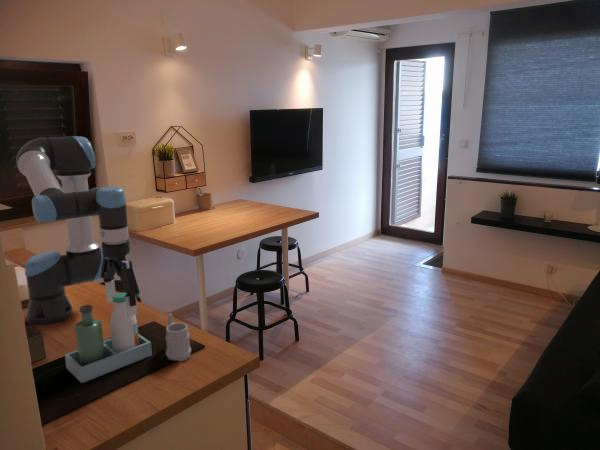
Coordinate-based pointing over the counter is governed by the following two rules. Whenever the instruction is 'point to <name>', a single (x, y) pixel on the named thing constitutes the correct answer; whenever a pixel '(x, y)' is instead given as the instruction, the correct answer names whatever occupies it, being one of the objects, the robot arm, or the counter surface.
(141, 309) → the counter surface
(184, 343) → the mug
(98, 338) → the green bottle
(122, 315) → the milk bottle
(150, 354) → the crate
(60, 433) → the counter surface
